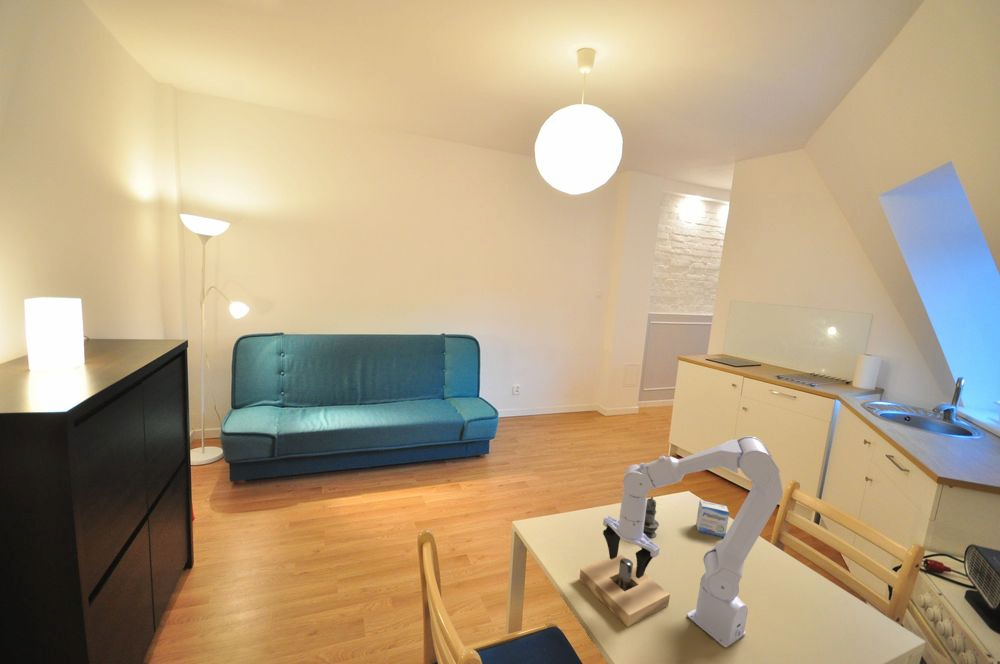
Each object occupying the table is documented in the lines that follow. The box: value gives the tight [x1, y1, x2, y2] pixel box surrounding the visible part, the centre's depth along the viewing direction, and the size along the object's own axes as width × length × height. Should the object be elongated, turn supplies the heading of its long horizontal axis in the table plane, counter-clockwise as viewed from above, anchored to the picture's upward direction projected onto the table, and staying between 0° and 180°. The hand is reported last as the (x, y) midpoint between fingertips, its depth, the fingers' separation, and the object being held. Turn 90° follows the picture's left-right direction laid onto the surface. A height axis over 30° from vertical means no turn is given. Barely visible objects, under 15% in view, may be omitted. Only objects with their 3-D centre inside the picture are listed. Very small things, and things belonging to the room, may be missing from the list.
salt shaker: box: [643, 496, 660, 539], centre depth 127 cm, size 6×6×12 cm
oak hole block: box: [578, 552, 671, 628], centre depth 102 cm, size 16×14×3 cm
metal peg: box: [617, 557, 634, 591], centre depth 102 cm, size 3×3×8 cm
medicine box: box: [695, 500, 730, 538], centre depth 131 cm, size 8×4×9 cm, turn 73°
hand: (626, 566), depth 101 cm, fingers open, 7 cm apart
